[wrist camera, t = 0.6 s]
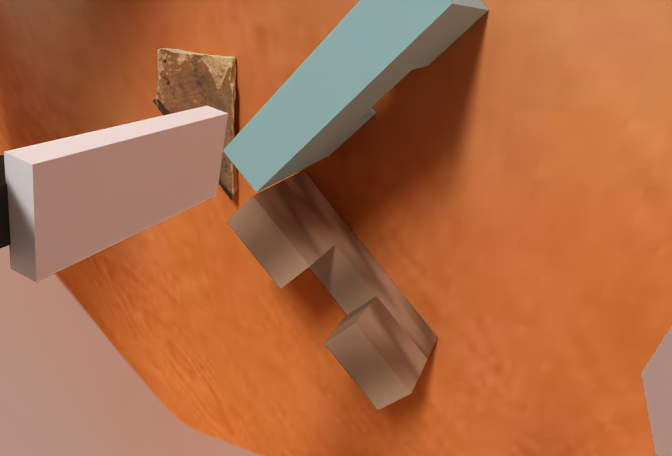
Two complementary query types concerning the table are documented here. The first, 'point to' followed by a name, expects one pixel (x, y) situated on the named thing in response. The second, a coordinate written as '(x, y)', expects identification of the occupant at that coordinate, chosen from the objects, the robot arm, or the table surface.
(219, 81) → the shard
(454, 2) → the teal board
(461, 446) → the table surface
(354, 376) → the walnut board
